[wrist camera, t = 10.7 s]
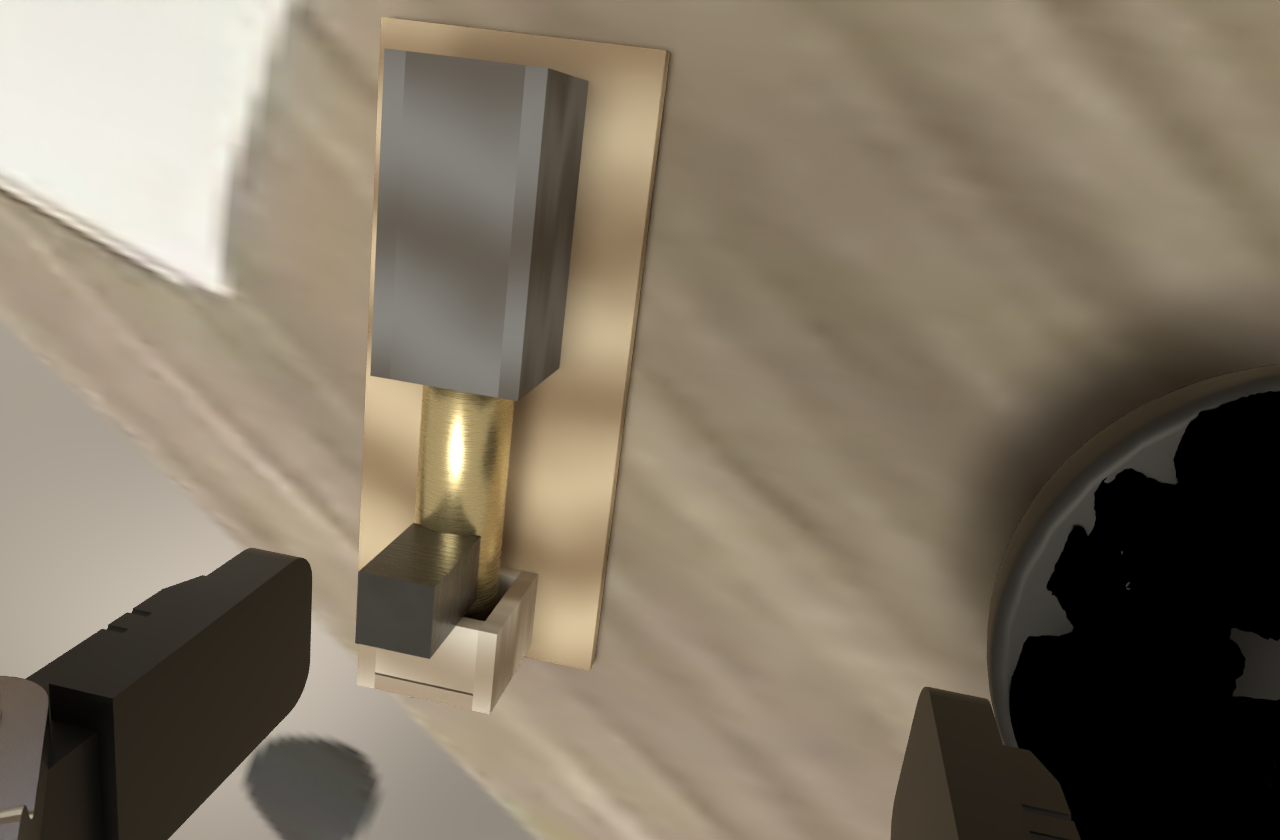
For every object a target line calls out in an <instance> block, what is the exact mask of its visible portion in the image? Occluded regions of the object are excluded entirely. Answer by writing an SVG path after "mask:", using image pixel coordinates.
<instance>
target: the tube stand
mask: <svg viewBox="0 0 1280 840" xmlns="http://www.w3.org/2000/svg"><path fill="white" fill-rule="evenodd" d="M669 58H670V52H668V51H667V50H661V49H652V48H643V47H635V46H626V45H617V44H609V43H600V42H592V41H583V40H574V39H566V38H557V37H548V36H540V35H531V34H522V33H514V32H505V31H497V30H488V29H479V28H471V27H462V26H453V25H445V24H436V23H428V22H419V21H410V20H402V19H393V18H384V17H381V38H380V62H379V86H378V110H377V134H376V157H375V181H374V205H373V229H372V253H371V276H370V300H369V324H368V348H367V371H366V395H365V419H364V443H363V467H362V490H361V514H360V538H359V562H358V572H359V571H360V570H361V569H362V568H363V567H364V566H365V565H366V564H368V563H369V562H370V561H371V560H372V559H373V558H374V557H375V556H377V555H378V554H379V553H380V552H381V551H382V550H383V549H384V548H386V547H387V546H388V545H389V544H390V543H391V542H392V541H393V540H395V539H396V538H397V537H398V536H399V535H400V534H401V533H402V532H403V531H405V530H406V529H407V528H408V527H409V526H410V525H411V524H412V523H415V506H416V489H417V473H418V456H419V439H420V422H421V406H422V389H423V385H426V386H432V387H438V388H444V389H450V390H455V391H461V392H467V393H473V394H479V395H484V396H490V397H496V398H502V399H508V400H513V401H514V412H513V423H512V435H511V446H510V457H509V468H508V480H507V491H506V502H505V513H504V525H503V536H502V547H501V558H500V570H499V581H498V592H497V603H496V607H495V609H494V610H493V611H492V613H491V614H490V615H489V617H488V618H487V620H486V621H480V620H475V619H470V618H466V617H462V619H461V620H460V621H459V623H458V624H457V625H456V626H455V628H454V629H453V630H452V631H451V633H450V634H449V635H448V637H447V638H446V639H445V640H444V642H443V643H442V644H441V646H440V647H439V648H438V649H437V651H436V652H435V653H434V654H433V656H432V657H431V658H430V659H427V658H422V657H418V656H413V655H408V654H404V653H399V652H394V651H390V650H385V649H381V648H376V647H371V646H367V645H362V644H359V649H358V672H357V685H360V686H365V687H369V688H374V689H379V690H383V691H387V692H392V693H396V694H401V695H405V696H410V697H414V698H419V699H423V700H428V701H432V702H437V703H441V704H446V705H450V706H455V707H459V708H464V709H468V710H473V711H477V712H482V713H486V714H490V713H491V712H492V710H493V708H494V707H495V705H496V703H497V702H498V700H499V698H500V697H501V695H502V693H503V691H504V690H505V688H506V686H507V685H508V683H509V681H510V680H511V678H512V676H513V675H514V673H515V671H516V670H517V668H518V666H519V665H520V663H521V661H522V660H523V658H524V657H528V658H532V659H537V660H542V661H547V662H551V663H556V664H561V665H565V666H570V667H575V668H580V669H584V670H589V671H590V670H591V667H592V665H593V663H594V661H595V654H596V646H597V638H598V630H599V622H600V614H601V605H602V597H603V589H604V581H605V573H606V565H607V557H608V549H609V541H610V533H611V525H612V517H613V509H614V501H615V493H616V485H617V477H618V468H619V460H620V452H621V444H622V436H623V428H624V420H625V412H626V404H627V396H628V388H629V380H630V372H631V364H632V356H633V348H634V340H635V331H636V323H637V315H638V307H639V299H640V291H641V283H642V275H643V267H644V259H645V251H646V243H647V235H648V227H649V219H650V211H651V203H652V194H653V186H654V178H655V170H656V162H657V154H658V146H659V138H660V130H661V122H662V114H663V106H664V98H665V90H666V82H667V74H668V66H669ZM357 593H358V586H357ZM356 617H357V609H356Z"/></svg>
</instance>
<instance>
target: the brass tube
mask: <svg viewBox="0 0 1280 840" xmlns="http://www.w3.org/2000/svg"><path fill="white" fill-rule="evenodd" d="M513 412H514V401H513V400H508V399H502V398H496V397H490V396H484V395H479V394H473V393H467V392H461V391H455V390H450V389H444V388H438V387H432V386H426V385H423V389H422V406H421V422H420V439H419V456H418V473H417V489H416V506H415V523H412V524H411V525H410V526H409V527H408V528H407V529H406V530H405V531H403V532H402V533H401V534H400V535H399V536H398V537H397V538H396V539H395V540H393V541H392V542H391V543H390V544H389V545H388V546H387V547H386V548H384V549H383V550H382V551H381V552H380V553H379V554H378V555H377V556H375V557H374V558H373V559H372V560H371V561H370V562H369V563H368V564H366V565H365V566H364V567H363V568H362V569H361V570H360V571H359V572H358V593H357V617H356V640H355V643H357V644H362V645H367V646H371V647H376V648H381V649H385V650H390V651H394V652H399V653H404V654H408V655H413V656H418V657H422V658H427V659H430V658H431V657H432V656H433V654H434V653H435V652H436V651H437V649H438V648H439V647H440V646H441V644H442V643H443V642H444V640H445V639H446V638H447V637H448V635H449V634H450V633H451V631H452V630H453V629H454V628H455V626H456V625H457V624H458V623H459V621H460V620H461V619H462V617H466V618H470V619H475V620H480V621H486V620H487V618H488V617H489V615H490V614H491V613H492V611H493V610H494V609H495V607H496V603H497V592H498V581H499V570H500V558H501V547H502V536H503V525H504V513H505V502H506V491H507V480H508V468H509V457H510V446H511V435H512V423H513Z"/></svg>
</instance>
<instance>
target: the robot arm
mask: <svg viewBox="0 0 1280 840" xmlns="http://www.w3.org/2000/svg"><path fill="white" fill-rule="evenodd" d="M311 604H312V571H311V567H310V564H309V563H308V561H307V560H306V559H304V558H300V557H295V556H290V555H285V554H280V553H275V552H270V551H266V550H261V549H256V548H249V549H246V550H244V551H243V552H241V553H240V554H238V555H237V556H235V557H234V558H232V559H231V560H229V561H228V562H226V563H225V564H224V565H222V566H221V567H219V568H218V569H216V570H215V571H213V572H212V573H210V574H209V575H207V576H203V575H202V576H199V577H196V578H194V579H191V580H188V581H185V582H182V583H179V584H176V585H173V586H170V587H168V588H165V589H162V590H161V591H159V592H158V593H156V594H155V595H153V596H152V597H150V598H149V599H147V600H146V601H144V602H142V603H141V604H139V605H138V606H136V607H135V608H133V611H132V613H126V614H124V615H123V616H121V617H119V618H118V619H116V620H115V621H113V622H112V623H110V624H109V625H108V628H107V630H105V629H101V630H100V631H98V632H97V633H95V634H94V635H92V636H91V637H89V638H87V639H86V640H84V641H83V642H81V643H80V644H78V645H77V646H75V647H74V648H72V649H71V650H69V651H68V652H66V653H64V654H63V655H62V656H60V657H58V658H57V659H55V660H54V661H53V662H51V663H49V664H48V665H46V666H45V667H43V668H42V669H40V670H38V671H37V672H35V673H34V674H33V675H31V676H29V677H28V678H26V679H22V678H17V677H9V676H0V840H168V839H169V838H170V837H171V836H172V834H173V833H174V832H175V831H176V830H177V829H178V828H179V827H180V826H181V825H182V824H183V823H184V822H185V821H186V820H187V819H188V818H189V817H190V816H191V815H192V813H194V811H195V810H196V809H197V808H198V807H199V806H200V805H201V804H202V803H203V802H204V801H205V800H206V799H207V798H208V797H209V796H210V795H211V794H212V793H213V792H214V791H215V790H216V789H217V788H218V787H219V786H220V785H221V783H222V782H223V781H224V780H225V779H226V778H227V777H228V776H229V775H230V774H231V773H232V772H233V771H234V770H235V769H236V768H237V767H238V766H239V765H240V764H241V763H242V762H243V761H244V760H245V758H246V757H247V756H248V755H249V754H250V753H251V752H252V751H253V750H254V749H255V748H256V747H257V746H258V745H259V744H260V743H261V742H262V741H263V740H264V739H265V738H266V737H267V736H268V735H269V733H270V732H271V731H272V730H273V729H274V728H275V727H276V726H277V725H278V724H279V723H280V722H281V721H282V720H283V719H284V718H285V717H286V716H287V715H288V714H289V713H290V711H291V710H292V709H293V708H294V706H295V705H296V703H297V702H298V700H299V698H300V696H301V694H302V692H303V689H304V687H305V684H306V680H307V677H308V673H309V666H310V641H311V640H310V639H311ZM891 840H1081V839H1080V836H1079V834H1078V831H1077V828H1076V826H1075V823H1074V821H1071V812H1070V810H1069V807H1068V804H1067V802H1066V799H1065V797H1064V794H1063V791H1062V789H1061V786H1060V783H1059V782H1058V781H1057V780H1056V778H1055V777H1054V776H1053V775H1052V774H1051V773H1050V772H1049V771H1048V770H1047V769H1046V767H1045V766H1044V765H1043V764H1042V763H1041V762H1040V761H1039V760H1038V759H1037V758H1036V757H1035V755H1034V754H1033V753H1032V752H1031V751H1029V750H1024V749H1020V748H1015V747H1010V746H1005V745H1003V743H1002V740H1001V737H1000V733H999V730H998V727H997V724H996V720H995V717H994V714H993V711H992V707H991V704H990V702H989V701H988V700H987V699H984V698H980V697H975V696H970V695H965V694H960V693H955V692H950V691H945V690H940V689H935V688H931V687H924V688H923V690H922V691H921V694H920V696H919V699H918V703H917V706H916V711H915V715H914V719H913V723H912V727H911V732H910V736H909V740H908V744H907V748H906V753H905V757H904V761H903V765H902V769H901V774H900V778H899V782H898V786H897V791H896V795H895V800H894V806H893V814H892V824H891Z"/></svg>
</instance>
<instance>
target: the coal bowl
mask: <svg viewBox="0 0 1280 840" xmlns="http://www.w3.org/2000/svg"><path fill="white" fill-rule="evenodd" d="M987 666H988V677H989V688H990V695H991V700H992V705H993V710H994V715H995V720H996V724H997V727H998V730H999V733H1000V736H1001V739H1002V742H1003V745H1005V746H1010V747H1015V748H1020V749H1024V750H1029V751H1031V752H1032V753H1033V754H1034V755H1035V757H1036V758H1037V759H1038V760H1039V761H1040V762H1041V763H1042V764H1043V765H1044V766H1045V767H1046V769H1047V770H1048V771H1049V772H1050V773H1051V774H1052V775H1053V776H1054V777H1055V778H1056V780H1057V781H1058V782H1059V783H1060V786H1061V789H1062V791H1063V794H1064V797H1065V799H1066V802H1067V804H1068V807H1069V810H1070V812H1071V821H1074V823H1075V826H1076V828H1077V831H1078V834H1079V836H1080V839H1081V840H1280V364H1279V365H1271V366H1262V367H1256V368H1251V369H1246V370H1241V371H1236V372H1231V373H1227V374H1224V375H1220V376H1217V377H1213V378H1210V379H1206V380H1203V381H1200V382H1196V383H1194V384H1191V385H1189V386H1186V387H1183V388H1181V389H1178V390H1176V391H1173V392H1170V393H1168V394H1165V395H1163V396H1161V397H1159V398H1157V399H1155V400H1152V401H1150V402H1148V403H1146V404H1144V405H1142V406H1140V407H1138V408H1136V409H1135V410H1133V411H1131V412H1129V413H1128V414H1126V415H1124V416H1123V417H1121V418H1119V419H1118V420H1116V421H1114V422H1113V423H1111V424H1110V425H1109V426H1107V427H1106V428H1104V429H1103V430H1102V431H1100V432H1099V433H1098V434H1096V435H1095V436H1093V437H1092V438H1091V439H1089V440H1088V441H1087V442H1086V443H1085V444H1084V445H1083V446H1081V447H1080V448H1079V449H1078V450H1077V451H1076V452H1075V453H1073V454H1072V455H1071V456H1070V457H1069V458H1068V459H1067V460H1066V461H1065V462H1064V463H1063V464H1062V465H1061V467H1060V468H1059V469H1058V470H1057V471H1056V472H1055V473H1054V474H1053V475H1052V476H1051V477H1050V479H1049V480H1048V481H1047V483H1046V484H1045V485H1044V486H1043V488H1042V489H1041V490H1040V491H1039V493H1038V494H1037V495H1036V497H1035V498H1034V500H1033V501H1032V503H1031V505H1030V506H1029V508H1028V509H1027V511H1026V512H1025V514H1024V516H1023V517H1022V519H1021V520H1020V522H1019V524H1018V526H1017V528H1016V530H1015V532H1014V534H1013V536H1012V538H1011V540H1010V542H1009V544H1008V547H1007V549H1006V552H1005V555H1004V557H1003V560H1002V563H1001V565H1000V568H999V572H998V575H997V579H996V583H995V587H994V591H993V595H992V599H991V605H990V613H989V620H988V632H987Z"/></svg>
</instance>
